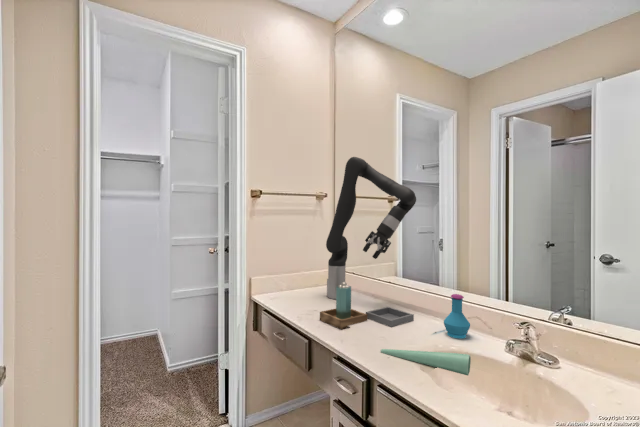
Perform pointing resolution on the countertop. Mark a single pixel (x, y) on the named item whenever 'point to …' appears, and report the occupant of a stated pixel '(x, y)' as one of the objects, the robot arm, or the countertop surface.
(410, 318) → the charcoal bin
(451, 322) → the perfume bottle
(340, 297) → the teal octagonal tall prism
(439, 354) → the mint green cone
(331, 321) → the walnut tray
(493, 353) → the countertop surface
